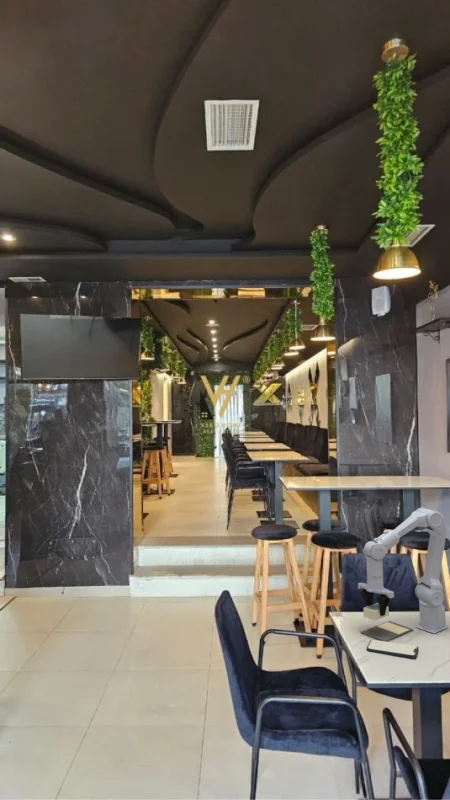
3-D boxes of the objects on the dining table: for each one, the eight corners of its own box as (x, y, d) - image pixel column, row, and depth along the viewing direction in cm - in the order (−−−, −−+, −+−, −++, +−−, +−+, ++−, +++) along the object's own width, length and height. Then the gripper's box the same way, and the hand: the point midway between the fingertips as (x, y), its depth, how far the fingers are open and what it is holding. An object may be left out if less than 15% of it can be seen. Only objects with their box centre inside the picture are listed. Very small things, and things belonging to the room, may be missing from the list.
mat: (389, 622, 200) (389, 620, 200) (413, 630, 192) (413, 628, 192) (360, 633, 190) (360, 631, 190) (384, 642, 182) (384, 640, 182)
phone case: (366, 653, 175) (416, 661, 168) (365, 648, 175) (415, 656, 168) (371, 643, 183) (419, 650, 176) (370, 638, 183) (418, 645, 176)
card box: (377, 611, 194) (377, 602, 194) (388, 615, 190) (388, 606, 190) (363, 616, 189) (363, 607, 190) (374, 620, 185) (374, 611, 185)
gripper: (352, 573, 194) (353, 610, 193) (384, 582, 182) (386, 621, 182) (364, 569, 198) (365, 605, 197) (397, 578, 186) (398, 616, 186)
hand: (376, 613), depth 190 cm, fingers closed on card box, 5 cm apart
